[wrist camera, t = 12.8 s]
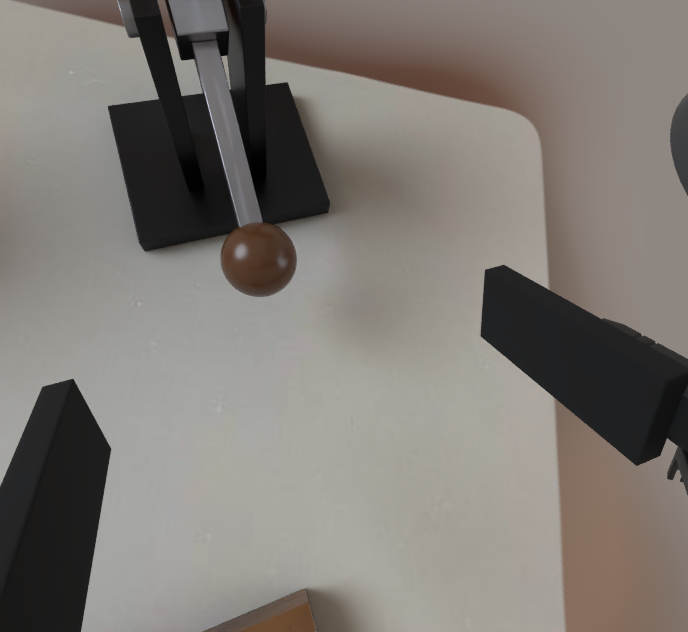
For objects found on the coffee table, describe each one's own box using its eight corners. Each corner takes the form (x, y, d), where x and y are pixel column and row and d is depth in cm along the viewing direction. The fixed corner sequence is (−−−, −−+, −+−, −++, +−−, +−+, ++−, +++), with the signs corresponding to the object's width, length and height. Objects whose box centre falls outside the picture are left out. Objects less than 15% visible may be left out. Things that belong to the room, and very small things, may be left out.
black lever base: (328, 212, 30) (368, 50, 17) (144, 251, 27) (40, 90, 15) (287, 94, 32) (297, -121, 20) (113, 118, 29) (1, -116, 17)
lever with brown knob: (297, 285, 23) (310, 288, 20) (231, 301, 22) (233, 308, 19) (227, -3, 21) (229, -56, 17) (149, 3, 20) (134, -50, 16)
